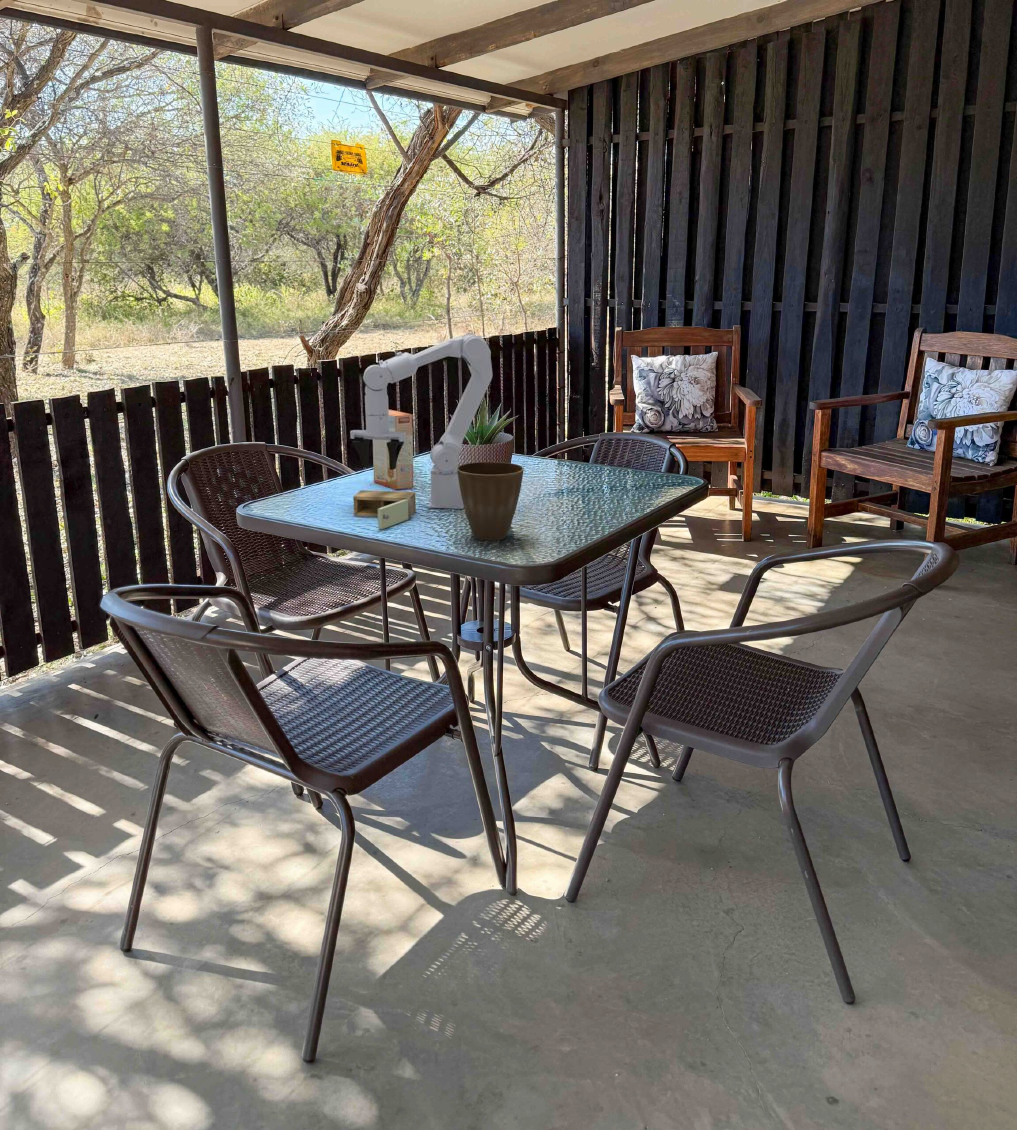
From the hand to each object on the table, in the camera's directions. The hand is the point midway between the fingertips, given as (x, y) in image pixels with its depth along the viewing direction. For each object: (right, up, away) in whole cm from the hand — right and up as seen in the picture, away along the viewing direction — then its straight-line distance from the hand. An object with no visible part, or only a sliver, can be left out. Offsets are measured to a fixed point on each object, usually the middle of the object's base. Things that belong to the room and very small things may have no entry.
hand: (379, 468), depth 242 cm
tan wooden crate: (+2, -12, -4) cm, 12 cm away
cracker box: (0, -2, +30) cm, 30 cm away
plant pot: (+29, -18, -24) cm, 42 cm away
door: (+6, -15, -14) cm, 21 cm away
